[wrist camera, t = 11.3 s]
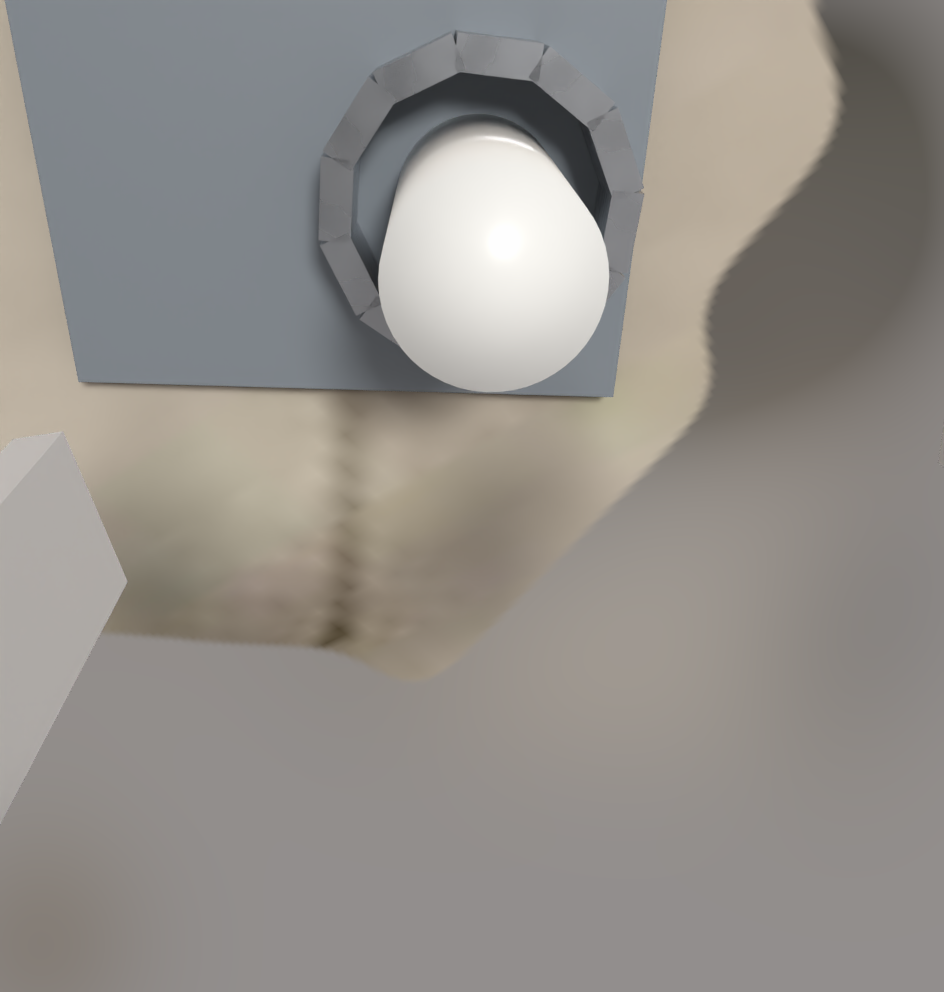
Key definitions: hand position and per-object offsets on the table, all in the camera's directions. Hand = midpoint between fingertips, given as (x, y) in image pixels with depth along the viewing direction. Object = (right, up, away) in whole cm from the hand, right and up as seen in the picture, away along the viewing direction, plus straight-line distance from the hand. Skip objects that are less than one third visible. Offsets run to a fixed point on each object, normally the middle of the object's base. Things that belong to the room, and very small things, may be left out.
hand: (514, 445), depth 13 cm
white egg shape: (0, +9, +16) cm, 19 cm away
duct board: (-5, +10, +17) cm, 20 cm away
